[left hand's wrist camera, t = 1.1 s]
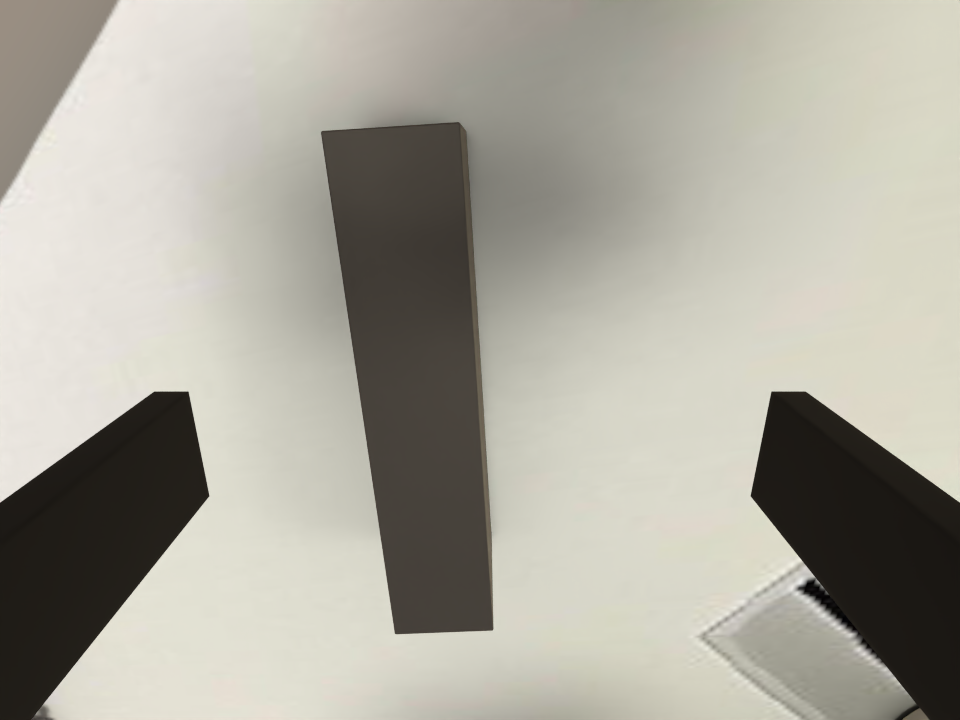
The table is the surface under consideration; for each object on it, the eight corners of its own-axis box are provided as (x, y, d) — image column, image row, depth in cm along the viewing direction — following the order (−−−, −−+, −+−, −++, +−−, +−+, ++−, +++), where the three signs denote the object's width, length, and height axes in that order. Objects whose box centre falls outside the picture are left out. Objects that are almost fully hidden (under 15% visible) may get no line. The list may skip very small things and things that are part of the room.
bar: (361, 137, 31) (320, 131, 23) (466, 130, 31) (459, 122, 23) (412, 542, 40) (394, 634, 33) (491, 539, 40) (493, 630, 33)
